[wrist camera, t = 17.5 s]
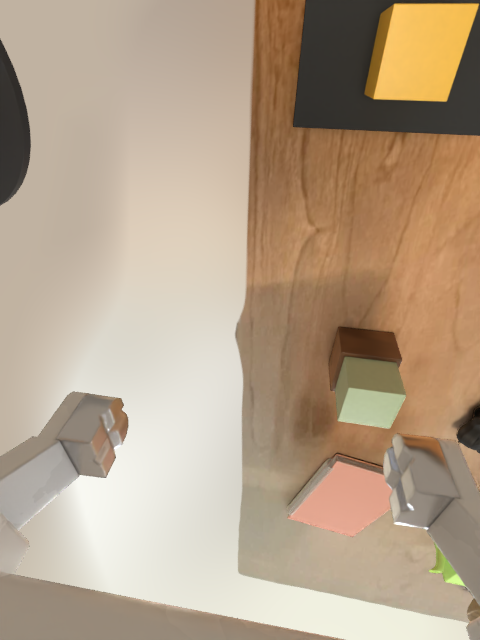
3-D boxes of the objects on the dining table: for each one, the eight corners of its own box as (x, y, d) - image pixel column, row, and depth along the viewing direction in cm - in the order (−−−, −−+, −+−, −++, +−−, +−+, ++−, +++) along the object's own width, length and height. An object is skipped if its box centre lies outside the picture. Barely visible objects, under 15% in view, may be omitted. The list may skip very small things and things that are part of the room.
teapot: (415, 517, 70) (429, 579, 61) (483, 505, 63) (510, 572, 54) (450, 546, 75) (467, 606, 67) (517, 538, 68) (546, 604, 60)
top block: (363, 94, 28) (373, 99, 24) (380, 13, 25) (394, 3, 21) (426, 96, 27) (446, 101, 23) (451, 13, 24) (479, 3, 20)
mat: (293, 125, 31) (292, 127, 30) (309, -30, 24) (309, -33, 24) (478, 134, 29) (482, 135, 28) (546, -33, 23) (553, -36, 22)
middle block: (334, 389, 43) (337, 421, 39) (344, 355, 40) (348, 387, 36) (382, 395, 43) (389, 428, 39) (396, 362, 39) (406, 395, 35)
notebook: (331, 450, 60) (331, 460, 59) (418, 476, 60) (421, 487, 59) (283, 508, 77) (282, 518, 75) (351, 528, 77) (352, 538, 76)
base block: (328, 364, 48) (330, 391, 44) (338, 326, 43) (341, 352, 39) (378, 370, 47) (385, 398, 43) (393, 332, 42) (402, 359, 39)
